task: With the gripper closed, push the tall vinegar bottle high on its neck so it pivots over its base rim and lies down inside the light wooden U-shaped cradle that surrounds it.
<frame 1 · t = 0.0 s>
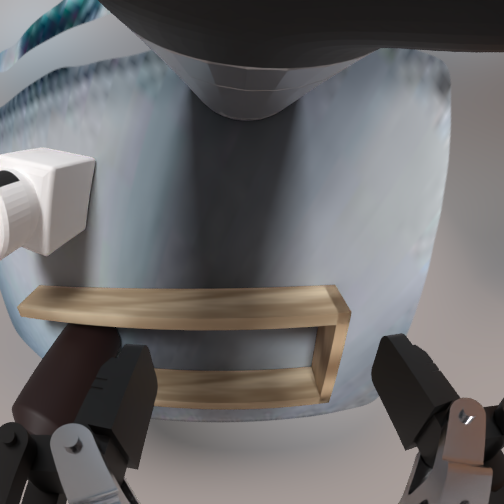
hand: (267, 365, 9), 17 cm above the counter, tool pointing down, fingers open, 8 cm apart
medicine bottle: (63, 187, 23), on the counter
u rest: (175, 338, 29), on the counter
vinegar: (96, 332, 29), on the counter
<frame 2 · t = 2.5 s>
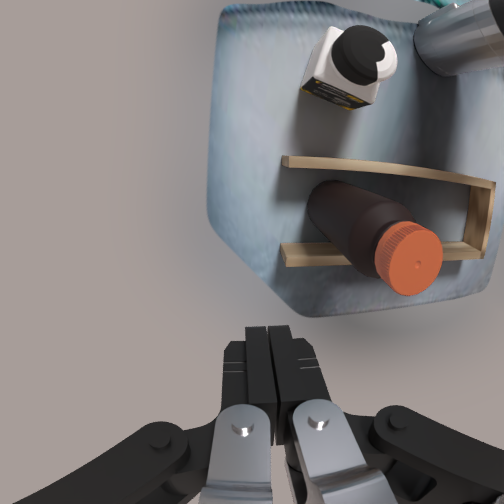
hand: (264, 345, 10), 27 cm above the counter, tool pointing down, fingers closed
medicine bottle: (332, 77, 30), on the counter
u rest: (396, 207, 36), on the counter
vinegar: (331, 205, 36), on the counter
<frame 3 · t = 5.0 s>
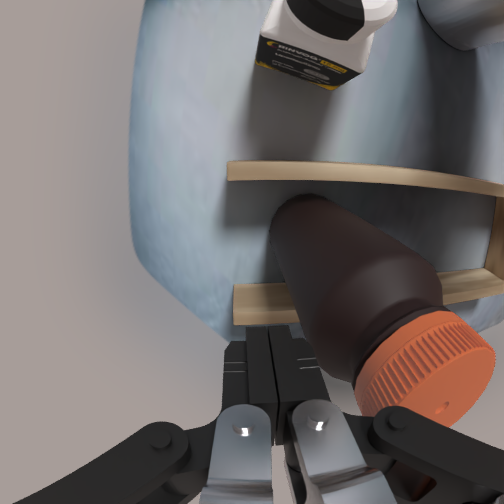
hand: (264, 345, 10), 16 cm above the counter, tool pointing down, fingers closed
medicine bottle: (304, 45, 20), on the counter
u rest: (401, 230, 26), on the counter
vinegar: (306, 230, 25), on the counter, touching gripper
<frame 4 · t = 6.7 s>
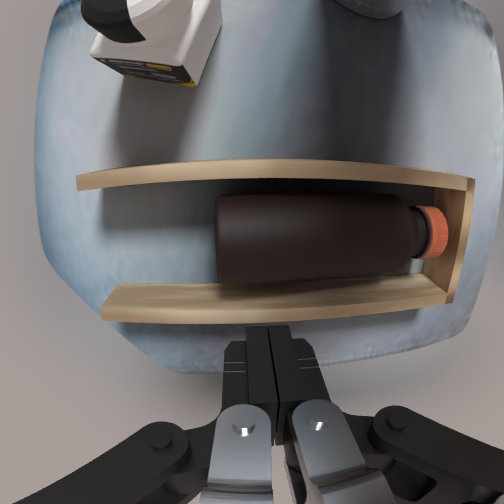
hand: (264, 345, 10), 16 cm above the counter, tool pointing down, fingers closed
medicine bottle: (172, 47, 19), on the counter
u rest: (289, 229, 25), on the counter
vinegar: (214, 239, 22), point 3 cm above the counter
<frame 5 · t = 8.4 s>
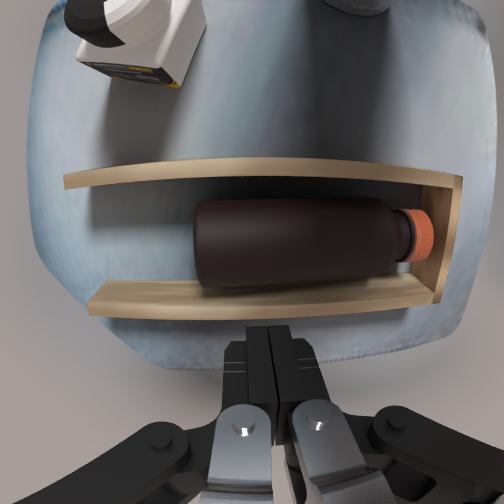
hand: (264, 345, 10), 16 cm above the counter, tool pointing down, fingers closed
medicine bottle: (158, 48, 19), on the counter
u rest: (272, 227, 25), on the counter
vinegar: (195, 244, 22), point 3 cm above the counter
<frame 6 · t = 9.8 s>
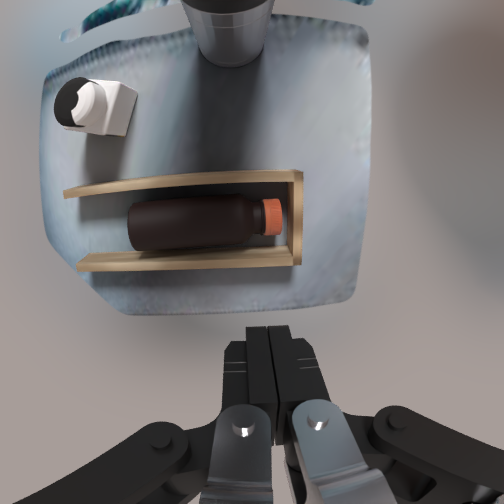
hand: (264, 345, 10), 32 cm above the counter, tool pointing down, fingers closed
medicine bottle: (112, 111, 35), on the counter
u rest: (181, 216, 41), on the counter
vinegar: (133, 227, 37), point 3 cm above the counter
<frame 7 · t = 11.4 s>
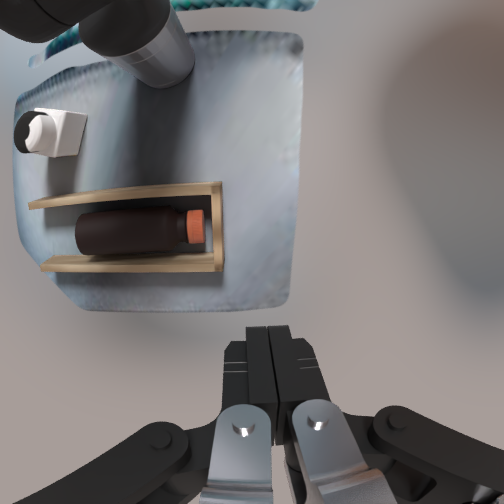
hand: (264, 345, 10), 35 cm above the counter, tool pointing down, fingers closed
medicine bottle: (68, 132, 37), on the counter
u rest: (123, 225, 43), on the counter
vinegar: (82, 234, 40), point 3 cm above the counter
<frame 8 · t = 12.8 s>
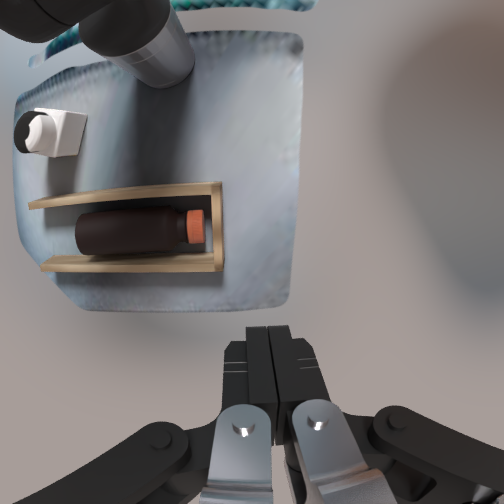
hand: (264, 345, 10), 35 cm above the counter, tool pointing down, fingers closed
medicine bottle: (68, 132, 37), on the counter
u rest: (123, 225, 43), on the counter
vinegar: (82, 234, 40), point 3 cm above the counter
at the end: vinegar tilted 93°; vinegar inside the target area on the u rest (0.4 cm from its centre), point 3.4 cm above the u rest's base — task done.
